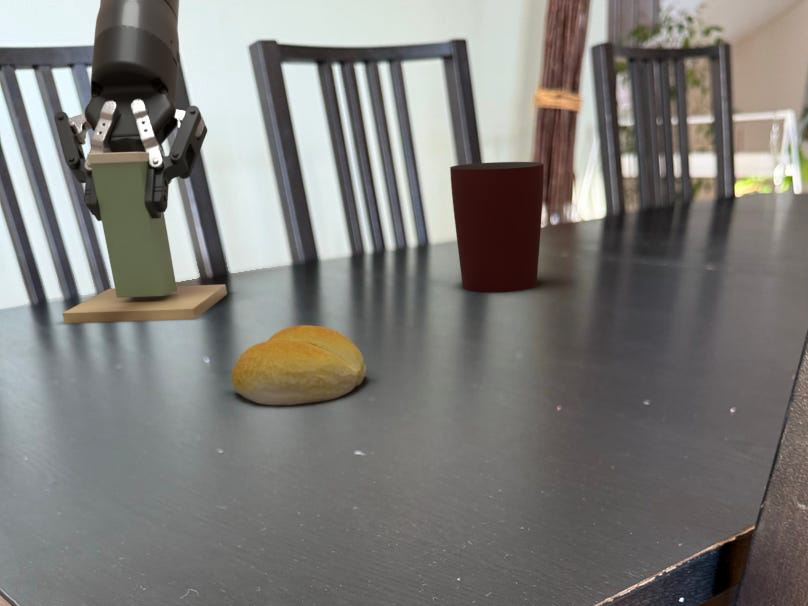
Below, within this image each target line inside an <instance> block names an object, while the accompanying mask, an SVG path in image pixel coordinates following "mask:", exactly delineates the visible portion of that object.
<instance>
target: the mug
mask: <svg viewBox="0 0 808 606" xmlns="http://www.w3.org/2000/svg"><path fill="white" fill-rule="evenodd" d="M449 168H450V169H449V171H450V174H449V175H450V187H451V188H450V189H451V197H452V209H453V217H454V226H455V233H456V243H457V249H458V250H457V251H458V259H459V267H460V276H461V282H462V284H461V285H462V288H463V289H464V290H466V291H469V292H476V293H491V294H493V293H496V294H497V293H512V292H521V291H527V290H530V289H533V288H535V287H536V286H537V285H538V284H537V283H538V271H539V260H540V259H539V258H540V245H541V233H542V232H541V231H542V217H543V216H542V215H543V200H544V182H545V180H544V179H545V178H544V177H545V165H544V162H538V161H537V162H536V161H500V162H499V161H497V162H496V161H495V162H478V163H465V164H459V165H458V164H457V165H452V166H450V167H449Z"/></svg>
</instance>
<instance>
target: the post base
mask: <svg viewBox="0 0 808 606" xmlns="http://www.w3.org/2000/svg"><path fill="white" fill-rule="evenodd" d="M176 287H177V291H174V292H172V293H169V294H167V295H164V296H150V297H122V298H117V296H116V290H115V287H112V288H107V289H106V290H104V291H102V292H100V293H98V294H96V295H94V296H92V297H90V298H88V299H86V300H85V301H83V302H81V303H79V304H77V305H75V306H73V307H70V309H67V310H66V311H63V312H62V317H63V322H64V324H65V325H66V324H68V325H69V324H98V323H120V322H121V323H122V322H123V323H125V322H127V323H128V322H153V321H180V320H181V321H183V320H184V321H185V320H197V318H199V317H200V316H201V315H202V314H204V313H205V312H207V311H208V310H209V309H211V307H213V306H214V305H215V304H216V303H218V302H219V301H221V300H222V299H223V298H224V297H226V296H227V295H228V292H227V286H226V284H199V285H197V284H195V285H176Z"/></svg>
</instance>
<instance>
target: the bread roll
mask: <svg viewBox="0 0 808 606" xmlns="http://www.w3.org/2000/svg"><path fill="white" fill-rule="evenodd" d="M366 373H367V366H366V363H365V358H364V356H363V354H362V352H361V351H360V349H359V347H357V346H356V344H355V343H354V342H353V341H352V340H351V339H350V338H348V337H346V336H345V335H343V334H342V333H340V332H339V331H337V330H335V329H332V328H328V327H325V326H324V327H323V326H318V325H307V324H305V325H303V324H301V325H291V326H288V327H285V328H283V329H280V330H278V331H277V332H275V333H274V334H273V335H271V336H270V337H269V338H268V340H266V341H262V342H260V343H256V344H254V345H252V346H250V347H248V348H247V349H246V350H244V352H243V353H242V354H241V355H240V356H239V357H238V359H237V360H236V362H235V364H234V366H233V368H232V372H231V384H232V387H233V389H234V391H235V392H236V393H237V394H238V395H240V396H242V397H243V398H244V399H246V400H248V401H250V402H254V403H257V404H259V405H265V406H297V405H303V404H304V405H305V404H312V403H319V402H326V401H330V400H334V399H338V398H340V397H342V396H344V395H346V394H349V393H350V392H352V390H354V389H355V387H358V386H360V385H361V384H362V383H363V381H364V378H365V377H366Z"/></svg>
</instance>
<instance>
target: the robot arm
mask: <svg viewBox="0 0 808 606" xmlns="http://www.w3.org/2000/svg"><path fill="white" fill-rule="evenodd" d="M179 9H180V0H100V3H99V9H98V13H97V16H96V21H95V28H94V37H93V38H94V40H93V51H92V63H91V73H90V74H91V75H90V100H89V103H88V104H87V105H86V106H85V109H84V113H81V114H78V115H75V116H71V117H69V115H68V114H67V113H66V112H65V111H59V112H56V114H54V122H55V127H56V129H57V130H56V131H57V133H58V139H59V142H60V146H61V149H62V153H63V157H64V161H65V163H66V165H67V166H68V168H69V169H70V171H71V173H72V174H73V176H74V177H75V179H76V181H77V182H78V183H80V184H84V195H83V201H84V204H85V206H86V208H87V209H88V211H89V212H90V214H91V215H92V216H94V218H95V220H96V221H98V222H102V220H101V215H100V209H99V204H98V199H97V194H96V189H95V184H94V179H93V174H92V169H91V164H89V161H88V156H87V155H86V156H85V151H84V149H83V145H85V144H86V143H87V141H86V139H87V132H88V131H89V130H92V131H93V133H92V135H91V138H90V141H89V143H90V149H89V152H88V154H95V153H120V152H149V159H148V160H149V164H150V166H151V167H150V169H147V177H146V191H145V207H146V209H147V211H148V212H149V214H150V216H151V217H152V219H158V218H161V212H164V213H165V212H166V211H167V209H168V204H169V203H168V202H169V186H170V184H171V183H172V182H173V181H172V180H173V179H175V178H180V179H182V180H185V179H188V178H190V177H191V175H192V173H193V170H194V168H195V165H196V162H197V159H198V157H199V154H200V153H201V149H202V147H203V144H204V141H205V139H206V137H207V134H208V128H207V125H206V122H205V120H204V117H203V115H202V113H201V111H200V108H199V107H198V106H196V105H190V106H188V107H187V109H186V110H184V109H178V108H177V96H178V95H177V94H178V76H179V66H180V62H181V56H180V55H181V53H180V38H179V31H178V30H179V29H178V28H179V27H178V26H179V11H180V10H179ZM176 129H178V130H177V133H176V135H175V137H174V140H173V143H172V145H171V147H170V151H169V153H168V155H166V153H165V150H164V146H163V143H164V142H165V141H166V140H167V139H168V138H169V136H171V134H172V133H173V132H174V131H175V130H176Z"/></svg>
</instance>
